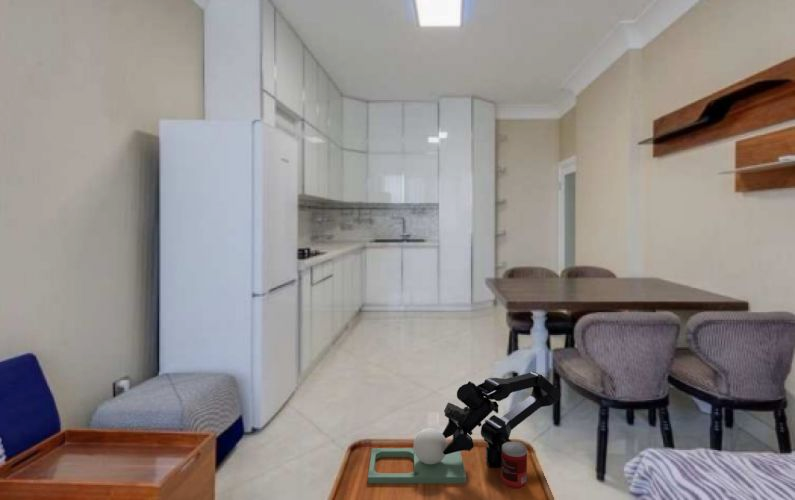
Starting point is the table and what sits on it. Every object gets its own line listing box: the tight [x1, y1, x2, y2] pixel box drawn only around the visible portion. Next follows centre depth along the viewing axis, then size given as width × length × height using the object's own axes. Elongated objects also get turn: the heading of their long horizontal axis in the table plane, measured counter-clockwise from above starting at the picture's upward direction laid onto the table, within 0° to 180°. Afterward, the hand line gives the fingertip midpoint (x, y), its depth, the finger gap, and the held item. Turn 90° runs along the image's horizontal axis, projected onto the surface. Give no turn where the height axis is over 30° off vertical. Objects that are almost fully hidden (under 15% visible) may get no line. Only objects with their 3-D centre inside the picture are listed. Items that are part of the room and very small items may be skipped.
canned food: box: [500, 441, 528, 489], centre depth 142 cm, size 8×8×11 cm
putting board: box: [367, 447, 467, 484], centre depth 150 cm, size 31×17×2 cm, turn 89°
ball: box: [413, 427, 448, 465], centre depth 149 cm, size 11×11×11 cm
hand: (442, 445), depth 149 cm, fingers open, 9 cm apart
